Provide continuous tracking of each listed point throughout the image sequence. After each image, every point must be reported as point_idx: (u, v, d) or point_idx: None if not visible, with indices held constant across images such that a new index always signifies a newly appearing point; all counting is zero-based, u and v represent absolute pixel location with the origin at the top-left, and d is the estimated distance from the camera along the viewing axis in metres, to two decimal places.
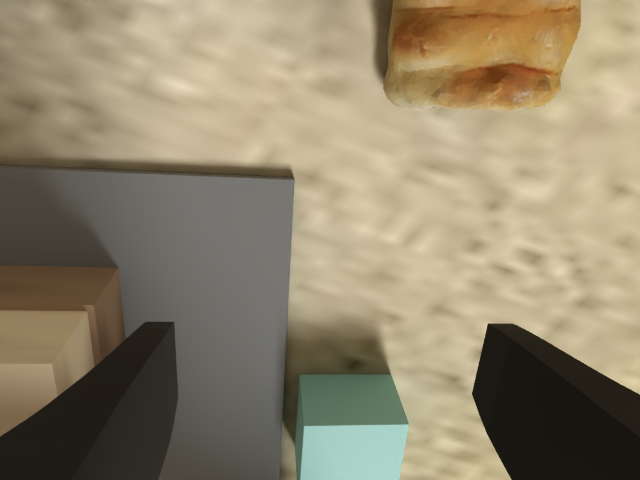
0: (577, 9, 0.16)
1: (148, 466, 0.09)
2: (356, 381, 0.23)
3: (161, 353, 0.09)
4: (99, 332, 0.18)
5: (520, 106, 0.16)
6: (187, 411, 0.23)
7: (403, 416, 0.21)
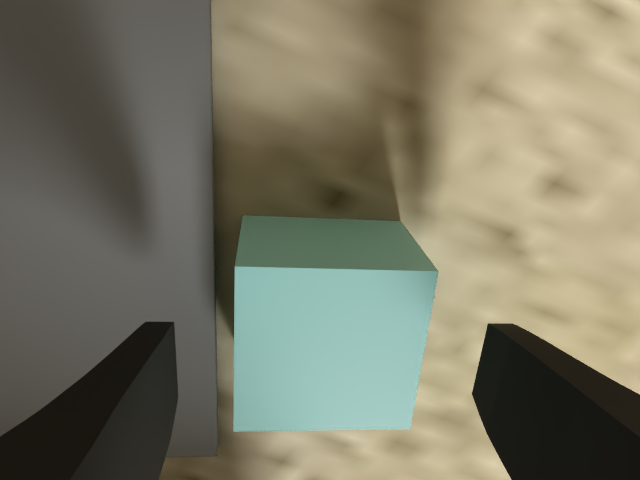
0: None
1: (148, 466, 0.09)
2: (340, 225, 0.13)
3: (161, 353, 0.09)
4: None
5: None
6: (43, 277, 0.13)
7: (426, 262, 0.11)
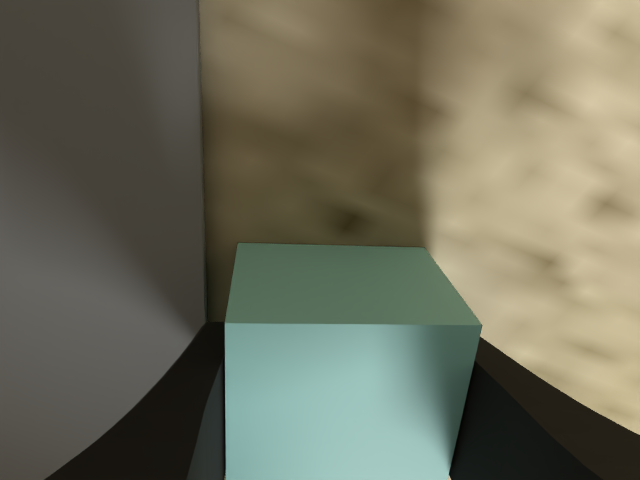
0: None
1: (219, 464, 0.09)
2: (355, 256, 0.11)
3: None
4: None
5: None
6: (2, 316, 0.11)
7: (466, 311, 0.09)
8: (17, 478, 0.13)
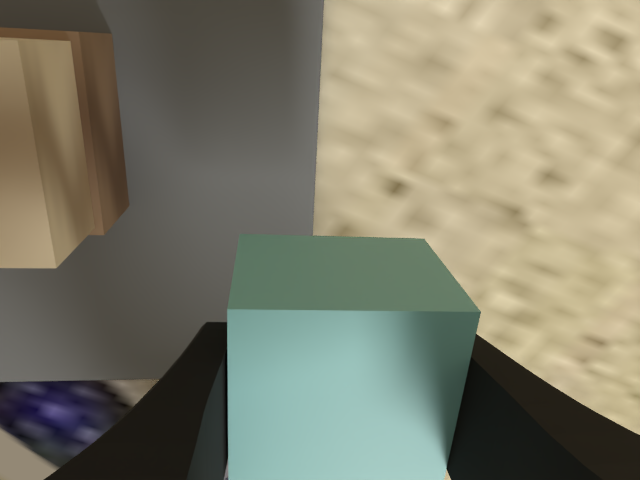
0: None
1: (219, 464, 0.09)
2: (356, 247, 0.11)
3: None
4: (87, 81, 0.14)
5: None
6: (198, 243, 0.19)
7: (464, 298, 0.09)
8: None
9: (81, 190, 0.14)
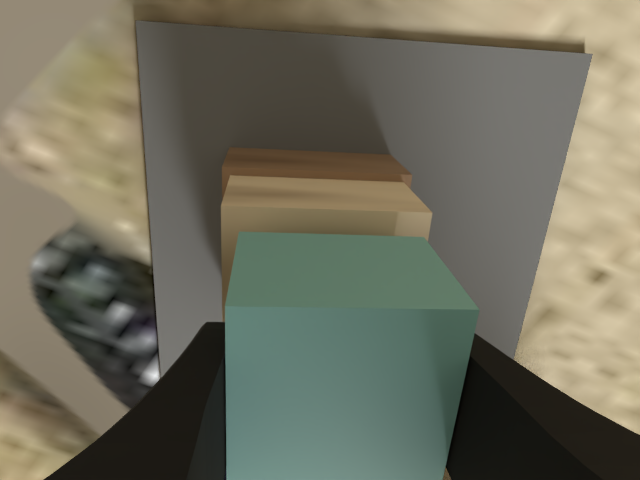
0: None
1: (219, 464, 0.09)
2: (355, 245, 0.11)
3: None
4: None
5: None
6: None
7: (463, 296, 0.09)
8: None
9: None
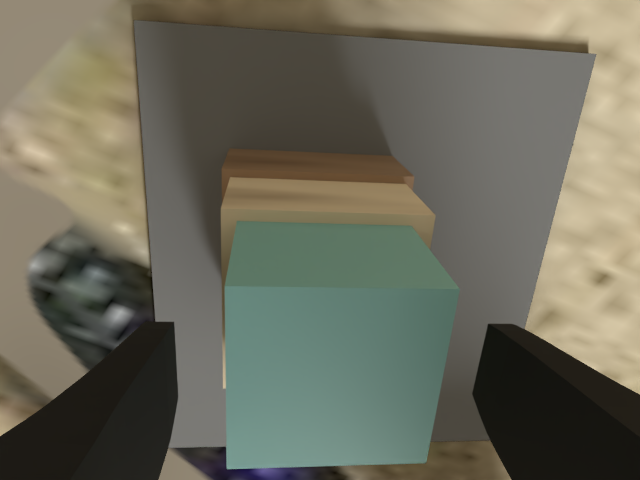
0: None
1: (148, 466, 0.09)
2: (346, 233, 0.12)
3: (161, 353, 0.09)
4: None
5: None
6: None
7: (445, 277, 0.10)
8: None
9: None
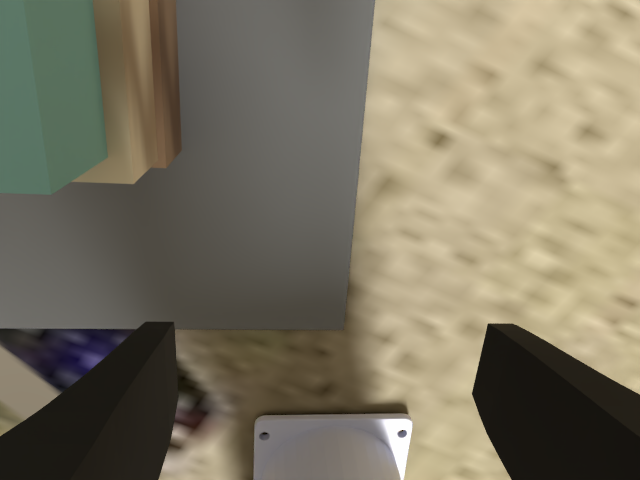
0: None
1: (148, 466, 0.09)
2: None
3: (161, 353, 0.09)
4: (159, 11, 0.14)
5: None
6: (246, 190, 0.19)
7: None
8: (234, 299, 0.21)
9: (150, 118, 0.15)
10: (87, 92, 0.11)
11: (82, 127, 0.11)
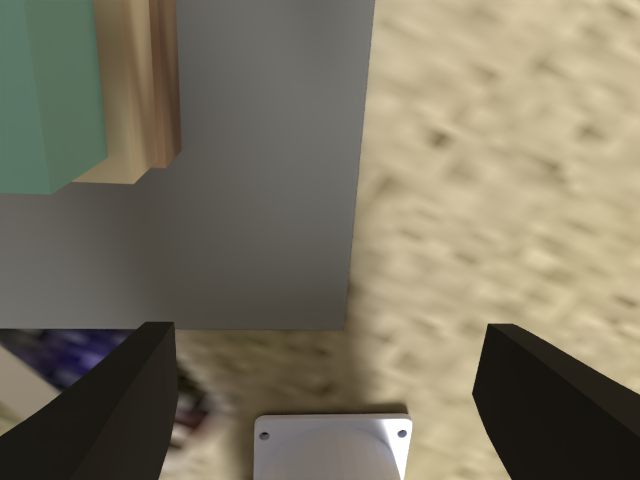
0: None
1: (148, 466, 0.09)
2: None
3: (161, 353, 0.09)
4: (159, 11, 0.14)
5: None
6: (246, 190, 0.19)
7: None
8: (234, 299, 0.21)
9: (150, 118, 0.15)
10: (87, 92, 0.11)
11: (82, 127, 0.11)
